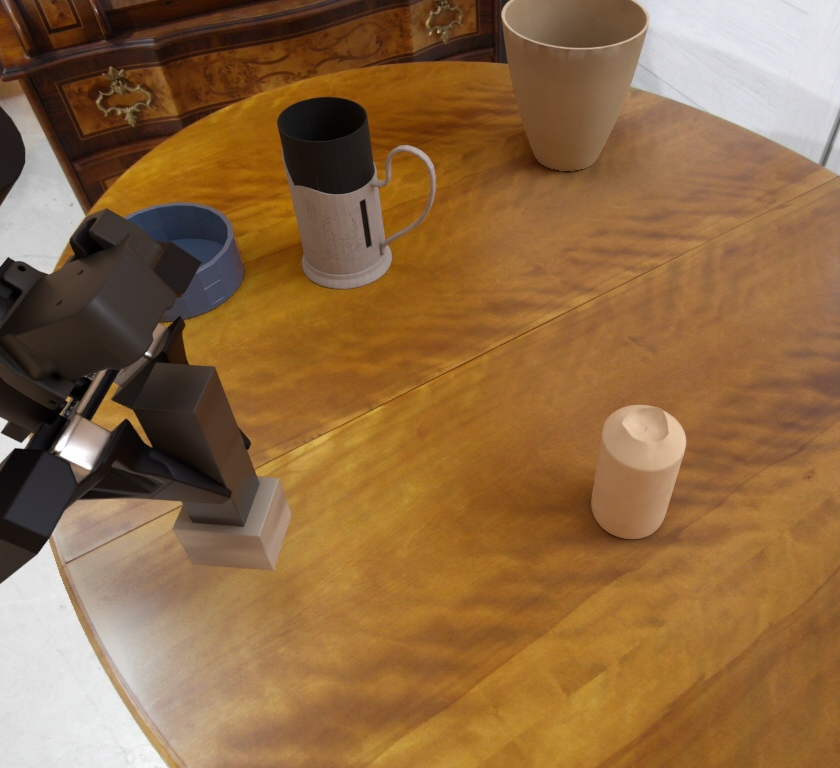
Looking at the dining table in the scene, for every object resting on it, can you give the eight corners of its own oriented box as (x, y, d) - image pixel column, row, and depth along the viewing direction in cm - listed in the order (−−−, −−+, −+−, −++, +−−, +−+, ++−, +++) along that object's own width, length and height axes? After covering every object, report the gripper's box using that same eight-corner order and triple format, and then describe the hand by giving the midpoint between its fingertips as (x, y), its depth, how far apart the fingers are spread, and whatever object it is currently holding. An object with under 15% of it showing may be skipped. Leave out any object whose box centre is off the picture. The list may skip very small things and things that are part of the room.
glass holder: (326, 225, 80) (299, 86, 69) (456, 252, 77) (450, 112, 66) (285, 278, 74) (249, 135, 63) (424, 309, 71) (412, 166, 60)
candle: (623, 465, 60) (641, 377, 52) (680, 508, 57) (707, 423, 50) (575, 507, 57) (587, 420, 50) (632, 554, 55) (654, 471, 47)
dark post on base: (191, 564, 46) (105, 414, 36) (214, 508, 49) (140, 353, 39) (274, 571, 46) (211, 422, 36) (292, 514, 49) (238, 360, 38)
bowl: (91, 319, 70) (71, 281, 66) (139, 238, 78) (123, 200, 74) (224, 324, 70) (211, 286, 66) (258, 242, 78) (247, 204, 74)
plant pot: (514, 115, 95) (517, -22, 84) (634, 130, 94) (655, -8, 82) (487, 182, 85) (486, 37, 74) (621, 200, 84) (642, 54, 72)
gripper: (-161, 388, 24) (268, 588, 32) (102, 94, 36) (363, 289, 44) (-230, 509, 30) (143, 652, 38) (15, 222, 43) (258, 373, 50)
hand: (237, 473), depth 42 cm, fingers closed on dark post on base, 3 cm apart
